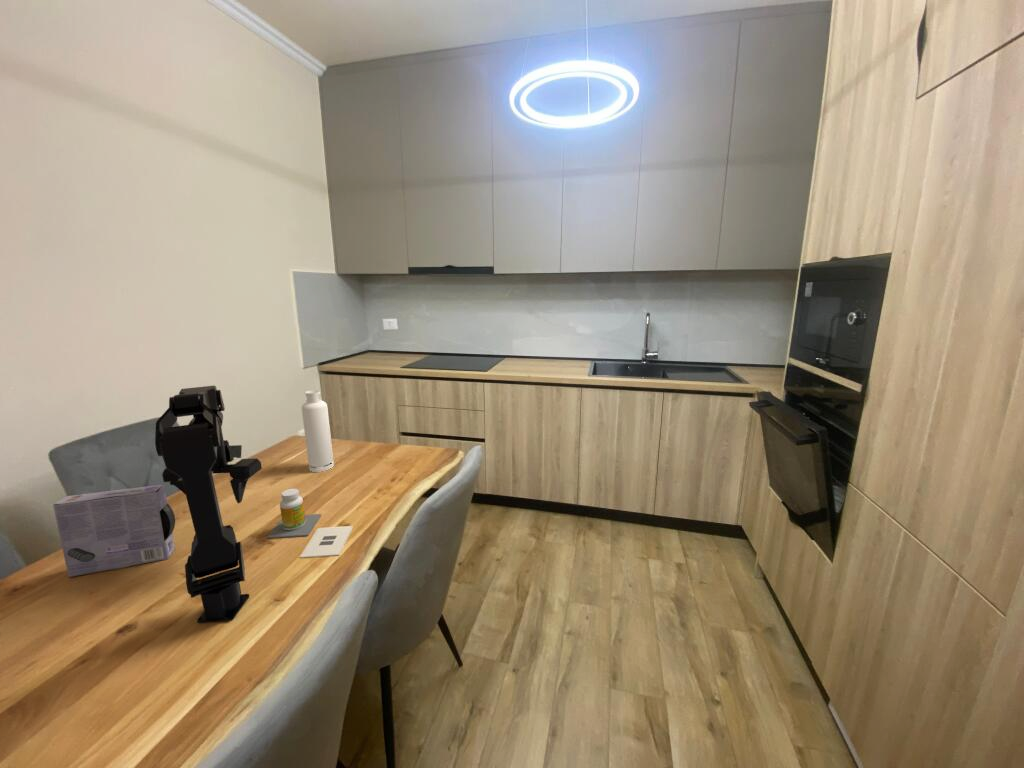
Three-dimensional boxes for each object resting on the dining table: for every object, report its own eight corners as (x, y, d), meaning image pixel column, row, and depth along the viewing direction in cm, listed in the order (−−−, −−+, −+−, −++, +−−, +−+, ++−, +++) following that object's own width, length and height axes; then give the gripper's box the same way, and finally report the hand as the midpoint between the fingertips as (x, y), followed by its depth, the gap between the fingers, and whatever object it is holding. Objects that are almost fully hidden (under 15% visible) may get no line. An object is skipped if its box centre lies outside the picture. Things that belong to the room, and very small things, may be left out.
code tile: (339, 555, 97) (339, 554, 97) (299, 558, 96) (299, 556, 96) (353, 526, 108) (353, 525, 108) (318, 529, 107) (317, 528, 107)
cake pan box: (182, 546, 100) (168, 481, 96) (174, 558, 96) (159, 490, 92) (81, 565, 94) (61, 495, 90) (67, 579, 89) (46, 506, 85)
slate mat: (307, 536, 104) (307, 534, 104) (266, 538, 103) (266, 537, 103) (321, 515, 114) (321, 513, 114) (284, 517, 113) (283, 516, 113)
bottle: (311, 464, 147) (301, 389, 141) (335, 461, 150) (327, 388, 143) (307, 473, 140) (297, 395, 134) (332, 470, 142) (324, 393, 136)
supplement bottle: (296, 532, 105) (291, 498, 103) (278, 529, 106) (273, 496, 104) (310, 520, 111) (305, 488, 108) (293, 518, 112) (288, 486, 109)
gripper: (268, 428, 100) (277, 485, 104) (189, 430, 99) (200, 488, 103) (243, 444, 90) (253, 508, 93) (153, 447, 88) (167, 512, 92)
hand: (219, 503), depth 95 cm, fingers open, 9 cm apart
